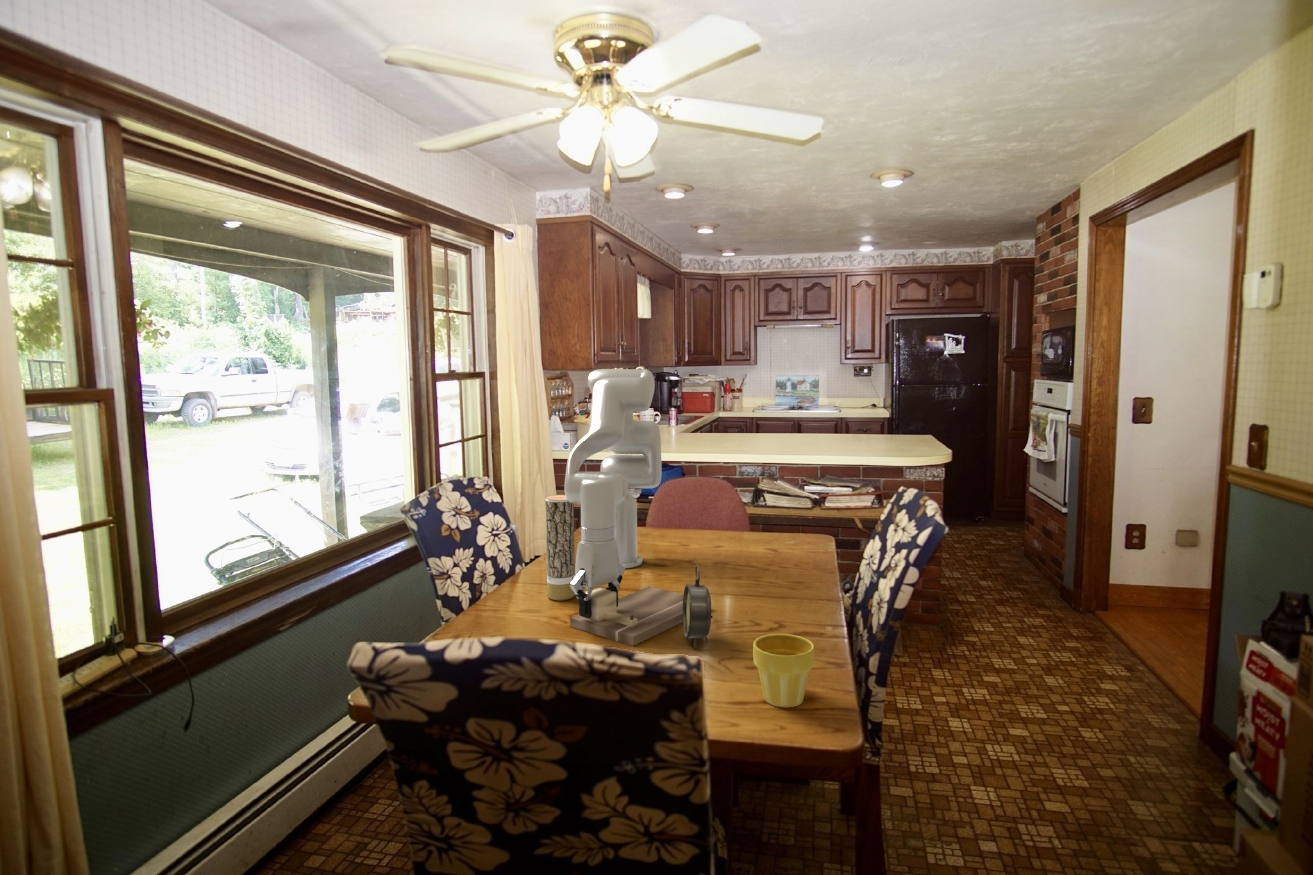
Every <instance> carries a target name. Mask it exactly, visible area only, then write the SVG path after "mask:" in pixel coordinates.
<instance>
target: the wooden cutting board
mask: <svg viewBox="0 0 1313 875" xmlns="http://www.w3.org/2000/svg"><path fill="white" fill-rule="evenodd" d="M683 596H684V593H683V594H682V593H678V592H674V591H670V590H666V589H662V588H657V587H653V586H647V587H644V588H642V589H639V590H637V591H635V592H631V593H628V594H627V595H624V596H622V597H618V607H616V613H618V614H622V615H625V616H629V617H630V615H634V618H636V619H638V624H637V625H635V626H633V627H631V626H628V625H624V624H621V623H617V622H614V621H610V620H607V619H603V620H601V621H595V620H591V619H588V618H584V617H581V616H580V615H579V613H578V614H576V615H573V616H571V617H569V621H570V622H569V624H570V626H569V627H571V628H575V629H577V630H581V631H584V632H587V633H589V634H592V635H593V634H594V635H596V636H599V637H602V638H605V639H609V640H613V641H616V642H618V643H622V644H625V645H628V644H630V645H629V646H631V647H635V646H636V645H639V644H640V642H641V643H643V642H645V641H647V640H648V638H649V639H651V638H653V637H655V636H657V635H659V634H661V633H663V632H665V631H667V630H669V629H671V628H674V627H675V626H677V625H679V624H680V625H681V624H683ZM652 636H653V637H652ZM644 640H645V641H644ZM638 643H639V644H638ZM634 645H635V646H634Z"/></svg>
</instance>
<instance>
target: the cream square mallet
mask: <svg viewBox="0 0 1313 875" xmlns="http://www.w3.org/2000/svg"><path fill="white" fill-rule="evenodd" d="M589 600H591V601H592V617H591V618H588V619H591V620H595V621H601V620H603V619H607V620H610V621H614V622H617V623H621V624H624V625H628V626H631V627H633V626H635V625H637V624H638V619H636V618H634V615H630V617H629V616H625V615H622V614H618V613H616V592H614V591H610V590H606V588H601V587H597V588H594V589H593V590H592V593H591V596H590V598H589ZM581 617H582V616H581ZM584 618H586V617H584Z"/></svg>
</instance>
